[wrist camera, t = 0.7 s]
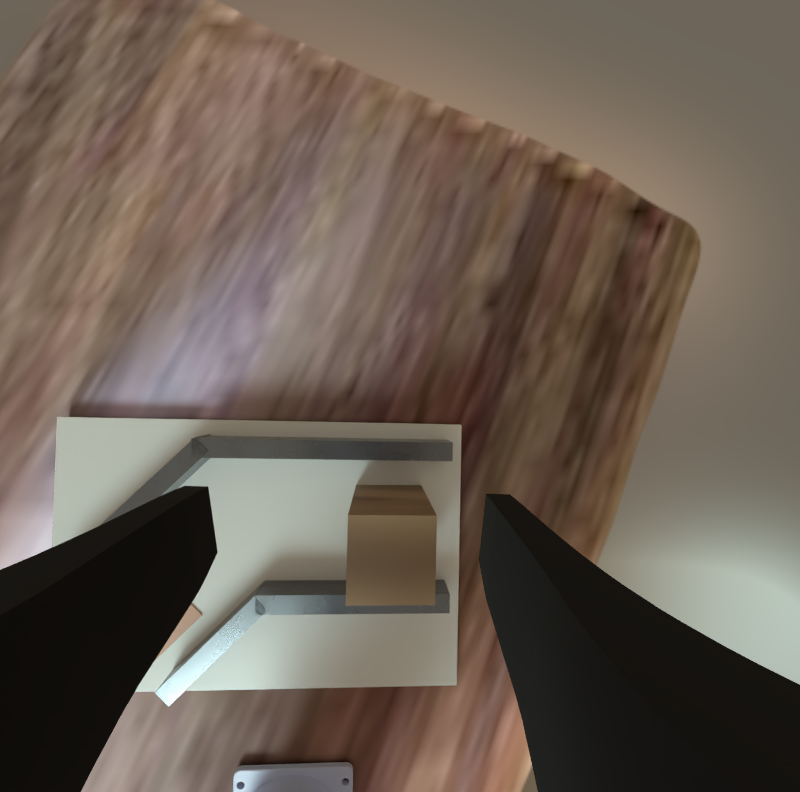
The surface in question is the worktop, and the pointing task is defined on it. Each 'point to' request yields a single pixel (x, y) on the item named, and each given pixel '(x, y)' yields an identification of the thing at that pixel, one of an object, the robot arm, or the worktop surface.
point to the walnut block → (391, 546)
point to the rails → (280, 593)
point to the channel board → (275, 546)
